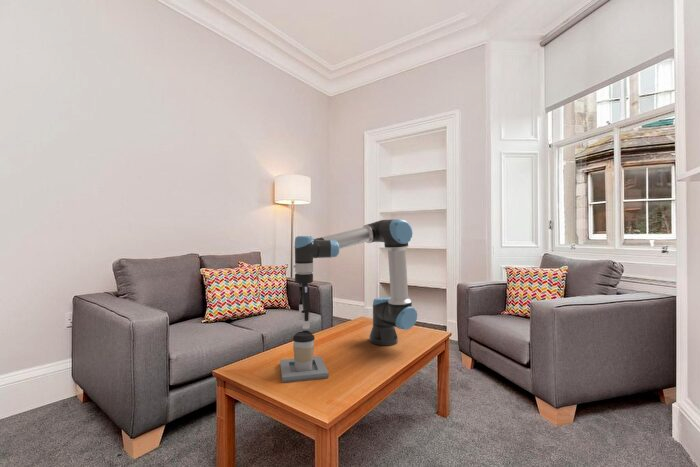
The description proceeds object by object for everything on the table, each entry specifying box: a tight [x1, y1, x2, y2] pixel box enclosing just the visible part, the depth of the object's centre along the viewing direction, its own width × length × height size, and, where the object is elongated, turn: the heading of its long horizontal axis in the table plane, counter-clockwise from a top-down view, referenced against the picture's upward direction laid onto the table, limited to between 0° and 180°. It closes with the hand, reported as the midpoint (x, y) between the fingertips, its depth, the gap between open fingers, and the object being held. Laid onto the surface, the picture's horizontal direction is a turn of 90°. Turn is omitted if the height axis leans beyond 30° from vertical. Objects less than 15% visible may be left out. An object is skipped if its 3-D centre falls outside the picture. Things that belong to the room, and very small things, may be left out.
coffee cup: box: [292, 330, 315, 372], centre depth 138 cm, size 9×9×15 cm
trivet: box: [279, 355, 329, 383], centre depth 138 cm, size 18×18×2 cm
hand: (304, 323), depth 138 cm, fingers open, 13 cm apart
